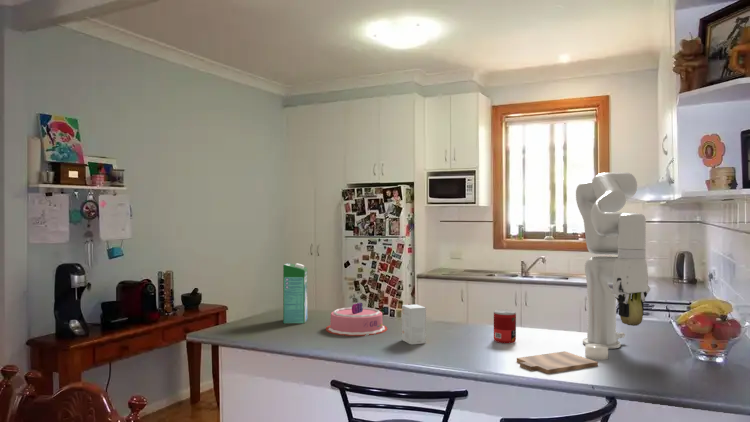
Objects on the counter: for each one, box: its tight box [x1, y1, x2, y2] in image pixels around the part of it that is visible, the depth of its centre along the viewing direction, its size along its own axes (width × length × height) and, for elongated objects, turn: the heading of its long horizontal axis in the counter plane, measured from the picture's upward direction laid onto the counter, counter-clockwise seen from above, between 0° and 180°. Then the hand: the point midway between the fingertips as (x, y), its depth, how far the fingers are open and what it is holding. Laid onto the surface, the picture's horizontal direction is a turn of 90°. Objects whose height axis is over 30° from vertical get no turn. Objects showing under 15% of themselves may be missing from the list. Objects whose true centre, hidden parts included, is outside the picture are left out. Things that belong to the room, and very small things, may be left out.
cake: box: [325, 302, 388, 337], centre depth 223 cm, size 25×25×11 cm
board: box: [516, 351, 599, 375], centre depth 172 cm, size 22×14×1 cm, turn 115°
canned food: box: [493, 309, 517, 344], centre depth 203 cm, size 8×8×11 cm
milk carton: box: [282, 262, 308, 324], centre depth 238 cm, size 9×9×25 cm
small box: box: [401, 303, 427, 345], centre depth 202 cm, size 8×6×13 cm
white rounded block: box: [584, 344, 609, 361], centre depth 181 cm, size 7×7×4 cm
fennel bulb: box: [620, 292, 644, 327], centre depth 165 cm, size 6×5×12 cm
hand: (631, 314), depth 165 cm, fingers closed on fennel bulb, 5 cm apart
